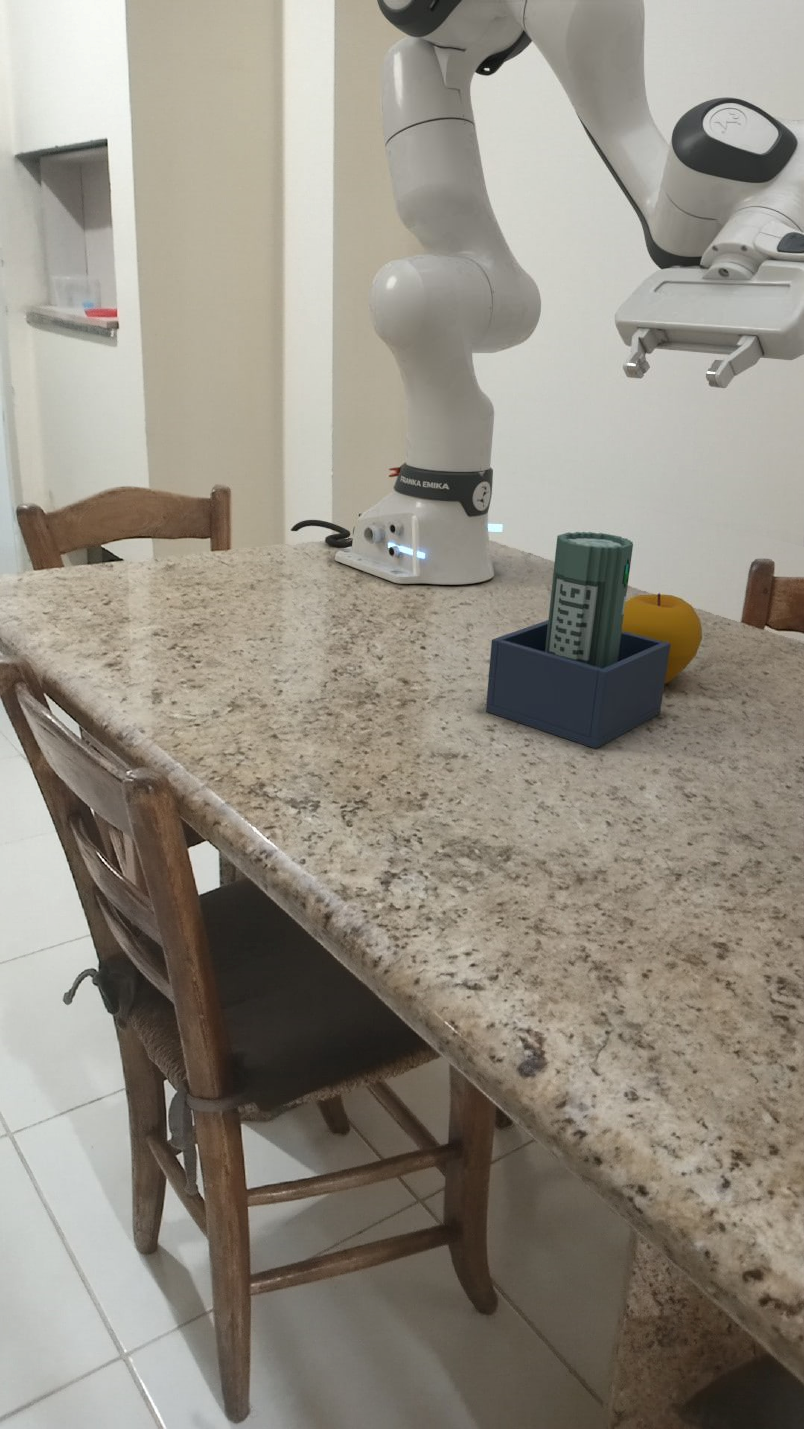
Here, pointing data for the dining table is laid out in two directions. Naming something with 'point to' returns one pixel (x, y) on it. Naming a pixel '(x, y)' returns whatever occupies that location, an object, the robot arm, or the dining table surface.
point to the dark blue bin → (576, 686)
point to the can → (588, 597)
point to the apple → (665, 627)
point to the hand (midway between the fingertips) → (671, 377)
